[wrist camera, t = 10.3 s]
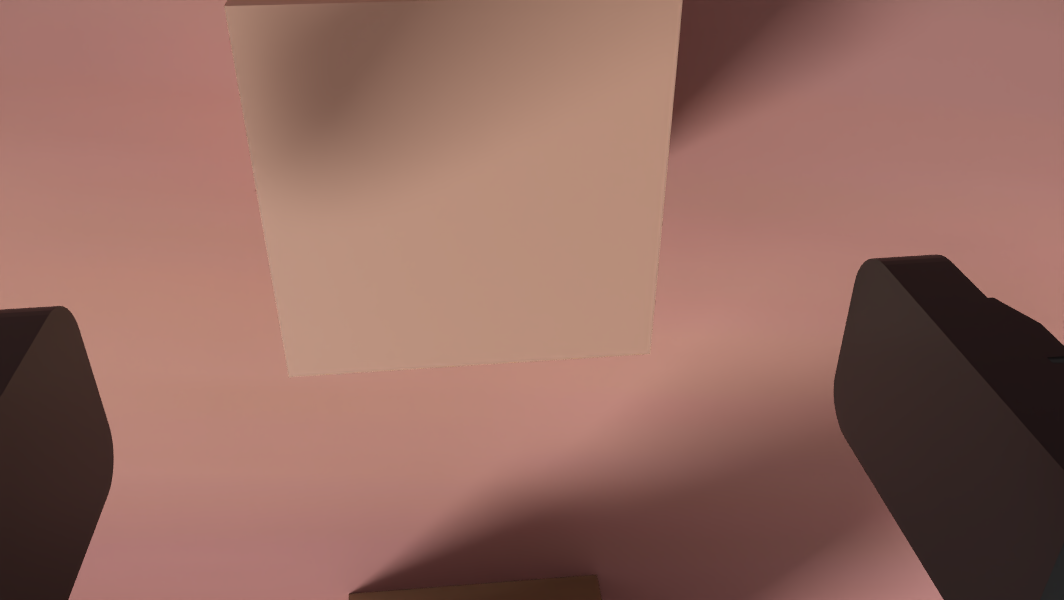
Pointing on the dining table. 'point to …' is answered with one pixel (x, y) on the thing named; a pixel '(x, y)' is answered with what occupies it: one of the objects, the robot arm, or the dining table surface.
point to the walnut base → (499, 591)
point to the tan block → (458, 175)
